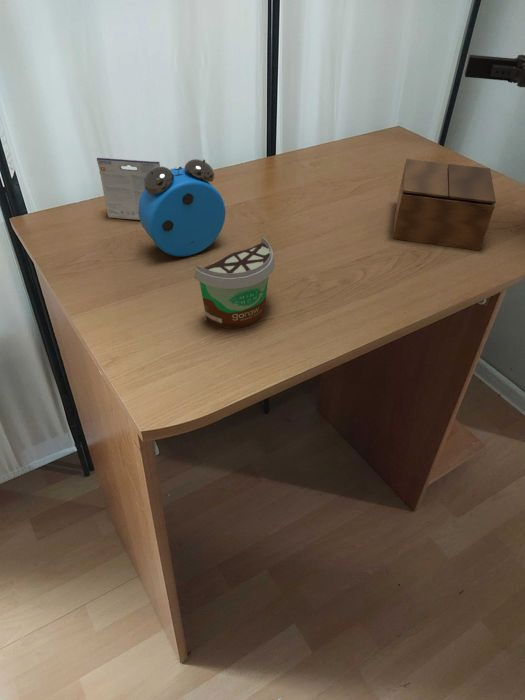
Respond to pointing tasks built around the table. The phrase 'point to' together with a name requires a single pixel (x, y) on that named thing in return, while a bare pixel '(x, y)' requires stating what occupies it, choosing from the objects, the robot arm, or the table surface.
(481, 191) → the flap
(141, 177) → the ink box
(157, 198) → the alarm clock
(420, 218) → the wooden box
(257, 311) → the food container
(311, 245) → the table surface
